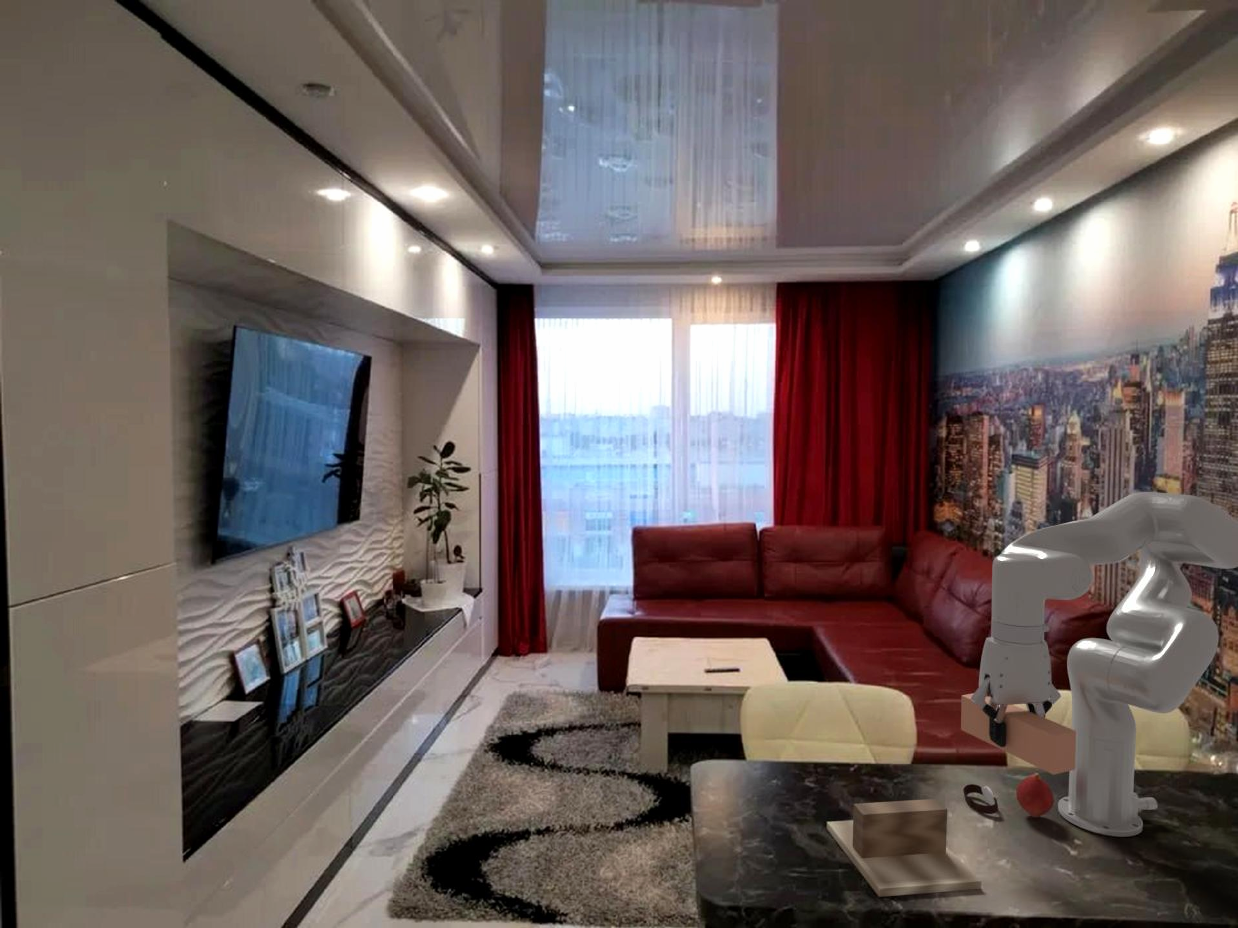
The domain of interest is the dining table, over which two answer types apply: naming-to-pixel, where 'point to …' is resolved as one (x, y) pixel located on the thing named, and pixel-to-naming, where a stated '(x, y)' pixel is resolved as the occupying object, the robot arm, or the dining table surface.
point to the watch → (986, 793)
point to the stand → (903, 848)
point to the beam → (1025, 736)
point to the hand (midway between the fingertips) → (1014, 741)
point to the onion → (1034, 796)
